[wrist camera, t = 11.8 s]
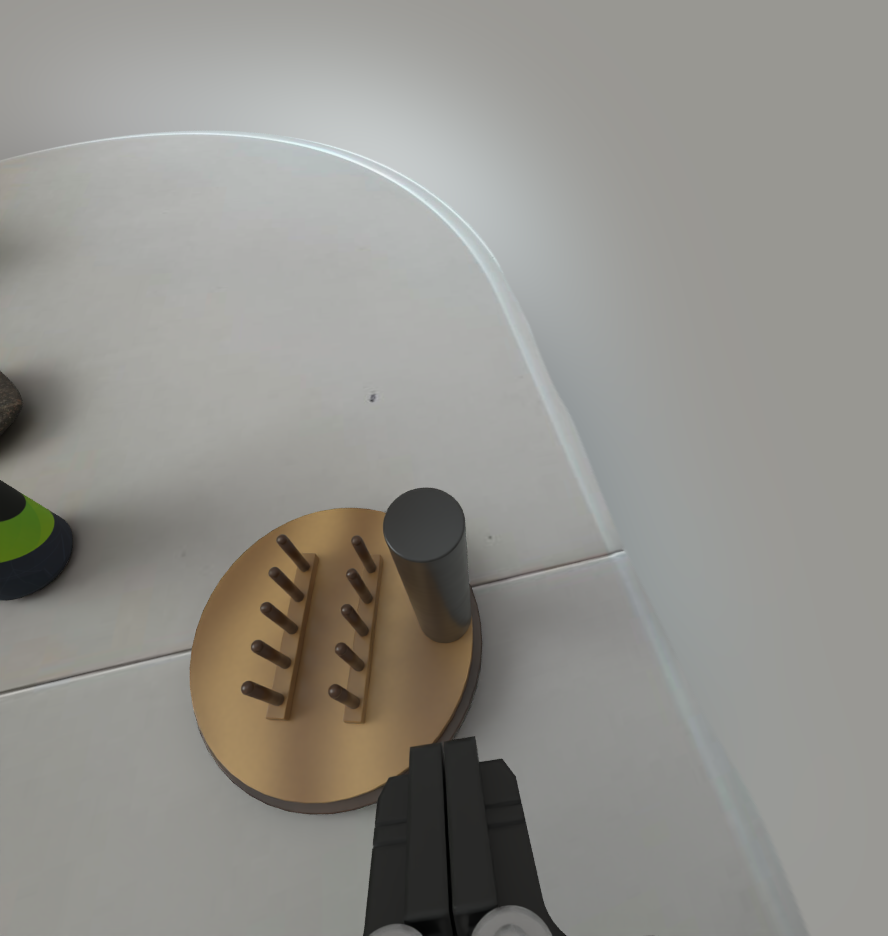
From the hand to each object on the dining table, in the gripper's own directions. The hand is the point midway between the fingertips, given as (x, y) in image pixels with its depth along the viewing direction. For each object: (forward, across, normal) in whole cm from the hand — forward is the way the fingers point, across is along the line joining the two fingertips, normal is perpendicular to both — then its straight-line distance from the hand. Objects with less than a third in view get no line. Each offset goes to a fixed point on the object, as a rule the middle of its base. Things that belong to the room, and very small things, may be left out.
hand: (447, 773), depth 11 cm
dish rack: (+17, +7, +6) cm, 19 cm away
